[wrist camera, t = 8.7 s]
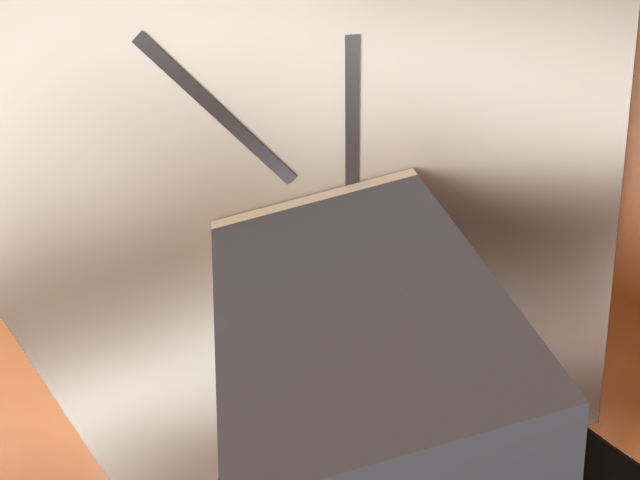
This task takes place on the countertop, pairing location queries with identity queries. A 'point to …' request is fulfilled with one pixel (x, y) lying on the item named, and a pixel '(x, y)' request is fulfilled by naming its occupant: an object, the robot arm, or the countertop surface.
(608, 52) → the ash board
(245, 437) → the block
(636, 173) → the countertop surface
